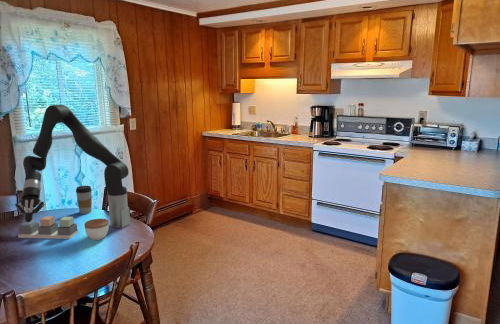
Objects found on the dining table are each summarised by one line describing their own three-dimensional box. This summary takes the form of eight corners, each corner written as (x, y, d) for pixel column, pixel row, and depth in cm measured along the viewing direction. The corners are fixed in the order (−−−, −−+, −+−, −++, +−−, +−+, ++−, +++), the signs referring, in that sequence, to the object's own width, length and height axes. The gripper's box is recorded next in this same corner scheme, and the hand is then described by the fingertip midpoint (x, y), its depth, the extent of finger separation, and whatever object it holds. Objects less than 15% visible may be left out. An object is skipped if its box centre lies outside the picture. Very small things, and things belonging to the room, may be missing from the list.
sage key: (73, 223, 173) (73, 216, 173) (68, 227, 169) (68, 220, 168) (64, 223, 173) (64, 216, 173) (59, 226, 169) (59, 219, 168)
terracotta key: (54, 223, 174) (54, 216, 173) (49, 226, 169) (48, 219, 169) (46, 223, 174) (45, 216, 173) (40, 226, 169) (39, 219, 169)
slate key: (36, 227, 174) (35, 220, 174) (30, 230, 170) (30, 223, 169) (27, 227, 175) (27, 220, 174) (21, 230, 170) (21, 223, 170)
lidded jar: (101, 243, 164) (99, 224, 162) (80, 241, 166) (78, 222, 164) (114, 234, 174) (112, 216, 172) (94, 232, 176) (93, 214, 175)
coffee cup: (89, 214, 201) (87, 189, 198) (74, 214, 201) (72, 189, 198) (96, 209, 209) (94, 185, 206) (82, 209, 210) (79, 185, 207)
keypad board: (78, 232, 176) (77, 222, 175) (69, 238, 168) (69, 229, 167) (29, 231, 177) (27, 221, 176) (18, 237, 169) (16, 227, 168)
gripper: (14, 187, 175) (10, 219, 166) (44, 185, 180) (42, 216, 171) (18, 194, 181) (14, 225, 172) (48, 192, 186) (45, 222, 177)
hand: (28, 220), depth 172 cm, fingers closed
